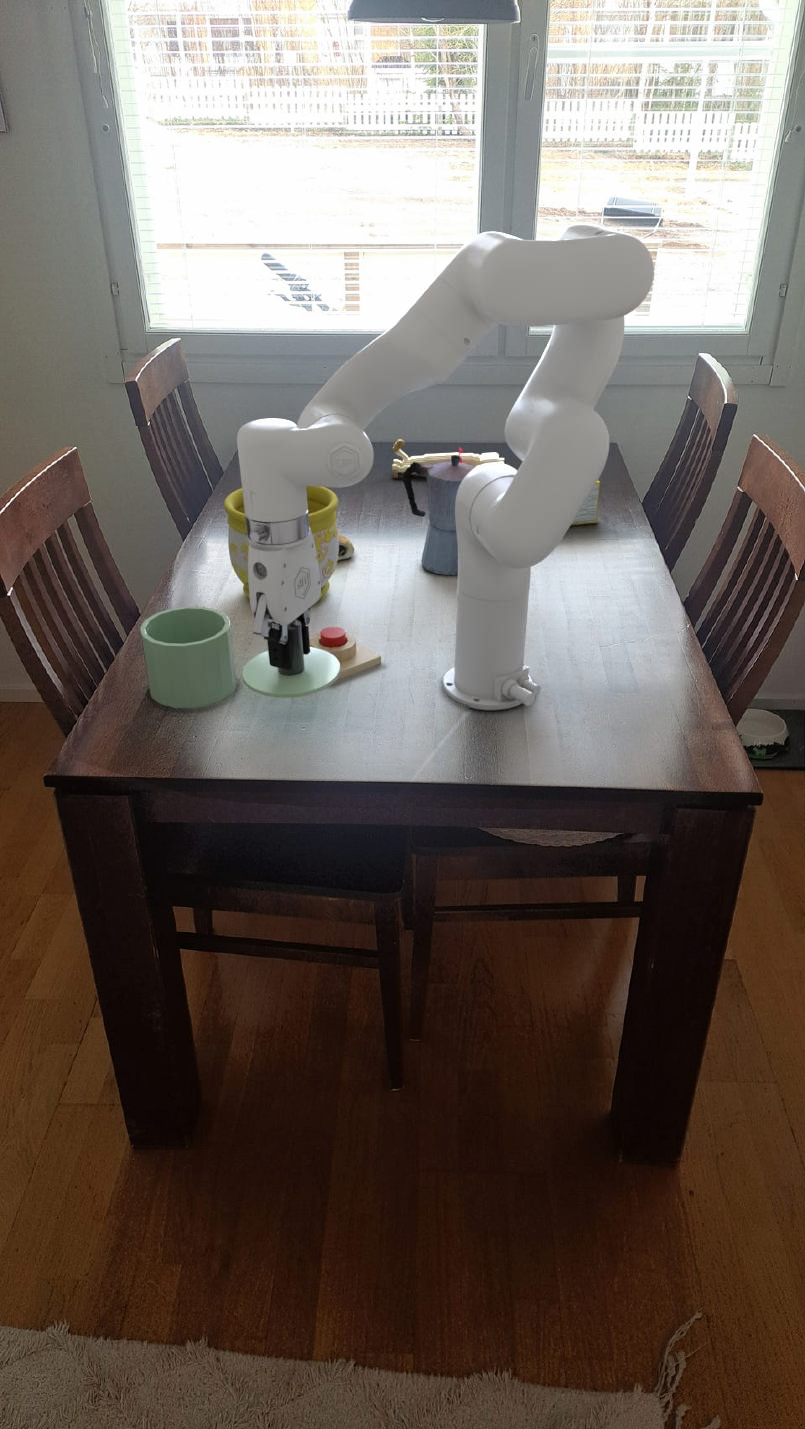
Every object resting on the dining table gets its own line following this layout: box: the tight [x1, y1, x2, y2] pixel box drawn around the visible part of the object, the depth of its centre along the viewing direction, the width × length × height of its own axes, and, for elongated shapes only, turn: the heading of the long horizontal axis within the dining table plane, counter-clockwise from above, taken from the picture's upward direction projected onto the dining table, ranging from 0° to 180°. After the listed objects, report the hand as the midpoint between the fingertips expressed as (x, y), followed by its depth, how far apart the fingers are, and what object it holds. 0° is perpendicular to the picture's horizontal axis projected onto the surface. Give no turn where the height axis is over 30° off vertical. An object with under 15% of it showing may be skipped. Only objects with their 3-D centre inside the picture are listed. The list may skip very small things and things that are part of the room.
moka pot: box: [402, 455, 476, 576], centre depth 173 cm, size 10×15×20 cm, turn 78°
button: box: [319, 626, 346, 648], centre depth 146 cm, size 4×4×2 cm
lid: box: [241, 619, 340, 699], centre depth 130 cm, size 13×13×8 cm
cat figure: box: [391, 438, 507, 479], centre depth 218 cm, size 10×9×25 cm
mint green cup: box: [139, 606, 237, 709], centre depth 138 cm, size 12×12×10 cm
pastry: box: [337, 533, 355, 562], centre depth 182 cm, size 9×7×4 cm
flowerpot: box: [223, 486, 339, 603], centre depth 164 cm, size 18×18×16 cm
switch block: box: [309, 631, 382, 682], centre depth 147 cm, size 11×9×4 cm
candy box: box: [570, 480, 601, 527], centre depth 193 cm, size 16×2×8 cm, turn 105°
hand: (290, 658), depth 131 cm, fingers closed on lid, 3 cm apart
